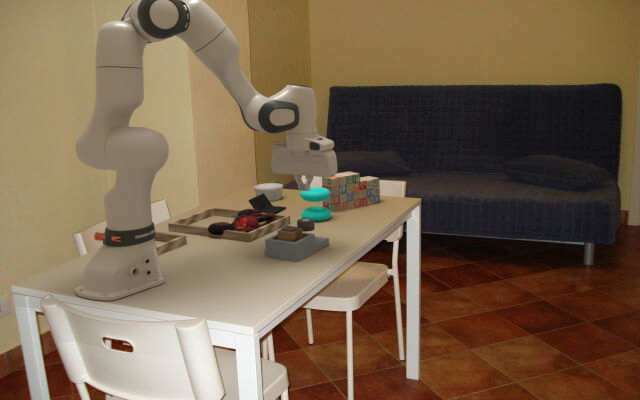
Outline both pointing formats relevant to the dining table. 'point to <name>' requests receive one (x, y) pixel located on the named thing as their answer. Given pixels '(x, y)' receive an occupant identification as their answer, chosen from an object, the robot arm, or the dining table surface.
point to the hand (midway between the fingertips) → (304, 190)
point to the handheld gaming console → (265, 205)
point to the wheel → (306, 224)
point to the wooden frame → (169, 241)
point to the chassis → (294, 247)
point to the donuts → (316, 212)
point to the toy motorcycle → (241, 222)
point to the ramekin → (269, 190)
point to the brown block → (290, 234)
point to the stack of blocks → (350, 191)
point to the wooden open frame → (184, 227)
